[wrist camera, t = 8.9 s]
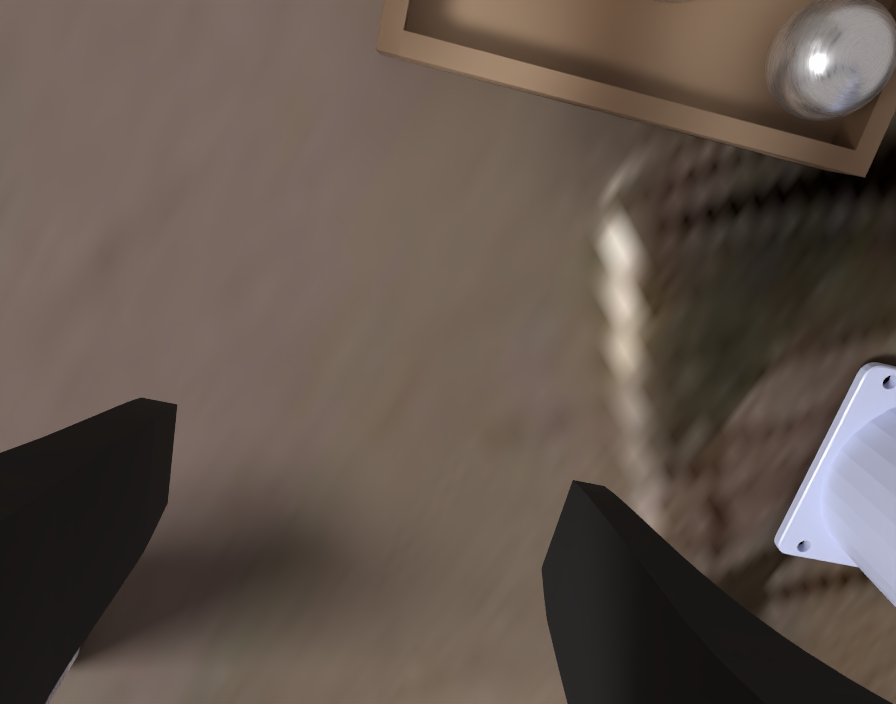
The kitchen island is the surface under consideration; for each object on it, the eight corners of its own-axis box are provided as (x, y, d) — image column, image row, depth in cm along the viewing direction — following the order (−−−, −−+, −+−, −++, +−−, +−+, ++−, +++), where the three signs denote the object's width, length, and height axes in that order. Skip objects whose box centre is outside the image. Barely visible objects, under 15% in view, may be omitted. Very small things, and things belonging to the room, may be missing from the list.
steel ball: (871, 18, 18) (953, 3, 15) (823, 130, 19) (893, 135, 16) (771, -11, 17) (837, -32, 15) (729, 104, 19) (782, 105, 16)
